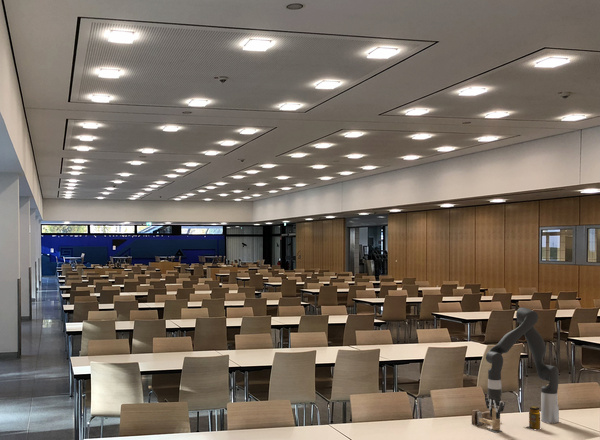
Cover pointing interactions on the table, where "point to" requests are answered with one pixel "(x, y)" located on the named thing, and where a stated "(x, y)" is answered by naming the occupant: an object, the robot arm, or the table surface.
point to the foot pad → (494, 430)
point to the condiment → (534, 418)
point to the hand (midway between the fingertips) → (494, 417)
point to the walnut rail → (484, 415)
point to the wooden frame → (493, 422)
